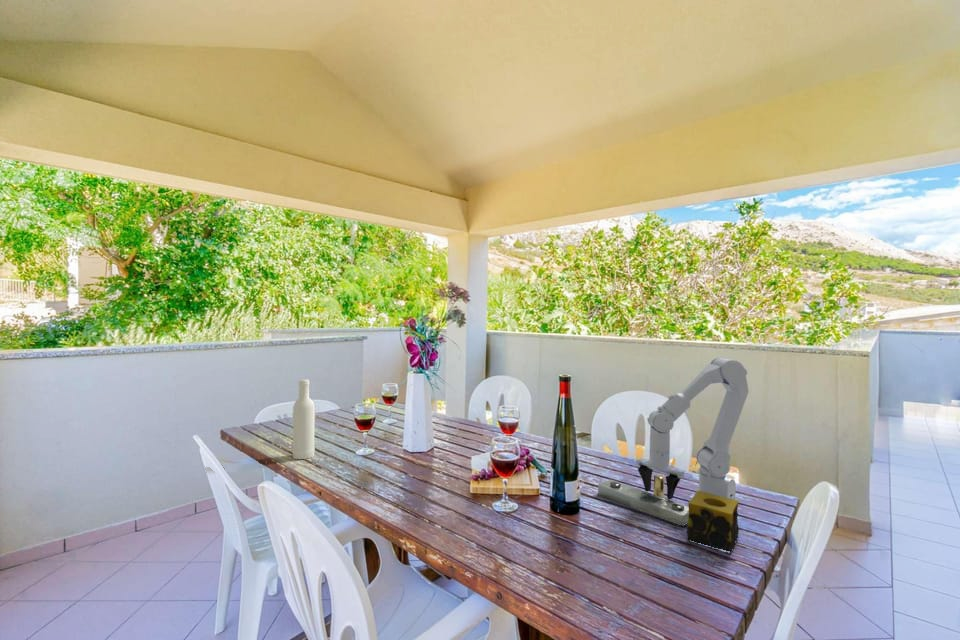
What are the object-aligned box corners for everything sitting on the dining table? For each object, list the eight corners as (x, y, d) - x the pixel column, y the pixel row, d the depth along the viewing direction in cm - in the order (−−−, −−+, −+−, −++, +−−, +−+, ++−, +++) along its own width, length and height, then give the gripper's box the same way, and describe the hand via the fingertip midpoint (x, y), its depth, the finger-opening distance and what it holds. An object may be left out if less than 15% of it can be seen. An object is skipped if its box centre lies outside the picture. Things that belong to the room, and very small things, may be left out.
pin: (665, 500, 134) (666, 477, 134) (660, 502, 132) (661, 479, 132) (656, 496, 137) (657, 474, 136) (651, 499, 135) (652, 476, 135)
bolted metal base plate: (694, 519, 121) (694, 506, 121) (682, 526, 117) (682, 513, 117) (611, 488, 143) (611, 477, 142) (598, 493, 138) (598, 482, 138)
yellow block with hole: (695, 526, 118) (696, 489, 118) (738, 539, 111) (739, 500, 111) (685, 541, 110) (686, 501, 110) (731, 555, 103) (732, 513, 103)
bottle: (287, 458, 168) (288, 380, 168) (301, 452, 175) (302, 378, 175) (305, 460, 166) (306, 382, 165) (318, 454, 173) (319, 379, 173)
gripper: (631, 447, 137) (630, 489, 138) (676, 459, 126) (675, 506, 126) (643, 443, 142) (642, 484, 142) (687, 454, 131) (687, 499, 131)
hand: (658, 494), depth 134 cm, fingers open, 7 cm apart
